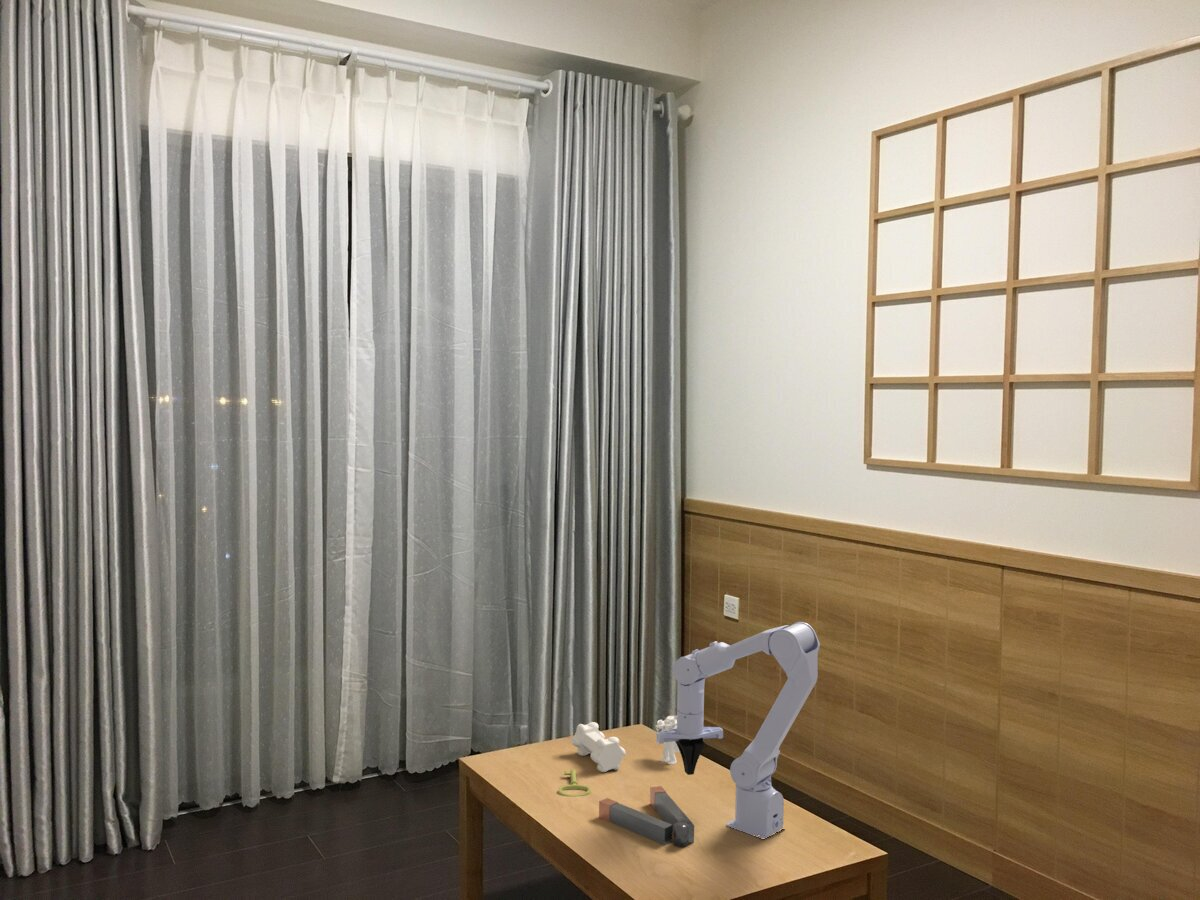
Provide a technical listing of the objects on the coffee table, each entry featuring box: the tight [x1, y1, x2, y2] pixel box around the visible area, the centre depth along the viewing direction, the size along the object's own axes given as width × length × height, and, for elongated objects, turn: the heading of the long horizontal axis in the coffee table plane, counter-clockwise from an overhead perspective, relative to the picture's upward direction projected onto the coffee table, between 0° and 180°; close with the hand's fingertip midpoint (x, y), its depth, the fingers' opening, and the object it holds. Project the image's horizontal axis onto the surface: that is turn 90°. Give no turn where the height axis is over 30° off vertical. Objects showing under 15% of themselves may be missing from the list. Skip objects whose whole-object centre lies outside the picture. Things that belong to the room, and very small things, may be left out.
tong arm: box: [649, 785, 695, 848], centre depth 199 cm, size 21×4×4 cm, turn 16°
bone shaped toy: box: [570, 721, 627, 773], centre depth 234 cm, size 15×9×8 cm, turn 25°
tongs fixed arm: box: [598, 797, 674, 846], centre depth 197 cm, size 18×2×4 cm, turn 46°
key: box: [557, 769, 592, 797], centre depth 219 cm, size 7×12×2 cm, turn 22°
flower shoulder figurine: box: [654, 715, 680, 766], centre depth 235 cm, size 9×4×12 cm, turn 38°
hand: (689, 773), depth 207 cm, fingers closed
